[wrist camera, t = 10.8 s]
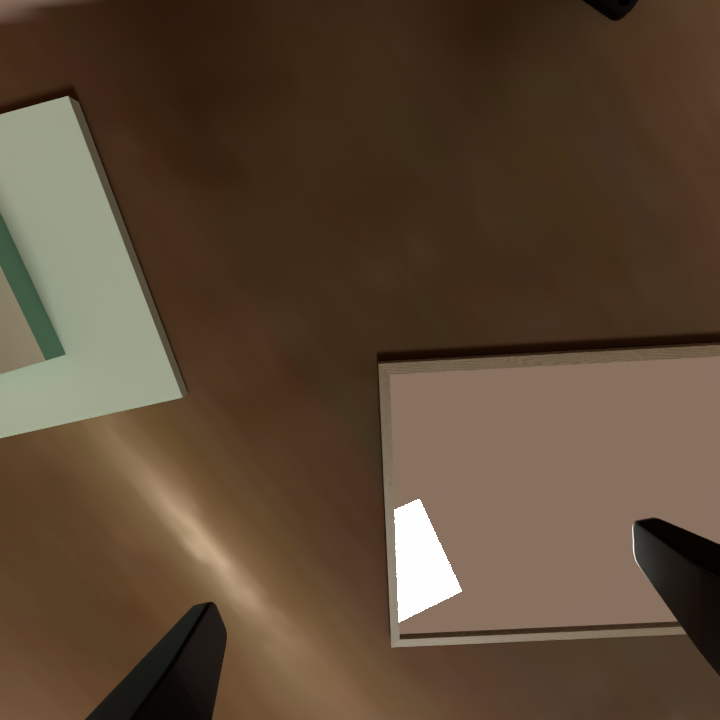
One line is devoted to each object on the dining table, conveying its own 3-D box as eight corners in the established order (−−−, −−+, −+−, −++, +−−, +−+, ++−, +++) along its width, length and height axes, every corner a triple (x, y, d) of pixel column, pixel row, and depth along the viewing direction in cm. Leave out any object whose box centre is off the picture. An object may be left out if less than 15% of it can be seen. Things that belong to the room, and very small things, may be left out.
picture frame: (900, 329, 19) (377, 359, 19) (930, 333, 18) (378, 363, 18) (807, 612, 24) (390, 631, 24) (827, 627, 23) (391, 647, 23)
